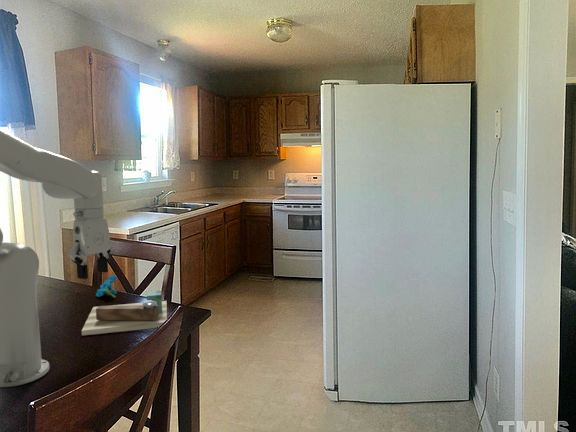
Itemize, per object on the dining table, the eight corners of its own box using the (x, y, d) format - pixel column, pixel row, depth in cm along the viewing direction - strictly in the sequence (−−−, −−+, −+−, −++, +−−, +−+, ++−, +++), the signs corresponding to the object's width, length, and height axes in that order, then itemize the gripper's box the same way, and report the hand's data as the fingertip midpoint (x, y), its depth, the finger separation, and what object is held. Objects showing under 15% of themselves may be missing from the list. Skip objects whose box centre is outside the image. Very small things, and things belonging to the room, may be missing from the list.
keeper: (162, 312, 143) (161, 294, 142) (147, 313, 142) (146, 296, 141) (162, 307, 148) (161, 290, 147) (148, 308, 146) (147, 291, 146)
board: (167, 326, 134) (167, 322, 134) (81, 335, 128) (81, 330, 128) (166, 304, 155) (166, 300, 155) (93, 311, 149) (93, 307, 149)
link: (158, 315, 139) (158, 304, 138) (155, 320, 134) (154, 308, 134) (101, 316, 138) (100, 305, 138) (95, 320, 134) (95, 309, 134)
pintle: (156, 320, 135) (156, 304, 135) (143, 322, 134) (142, 306, 134) (157, 316, 139) (156, 300, 138) (143, 317, 138) (143, 302, 137)
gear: (94, 288, 170) (113, 269, 171) (106, 297, 173) (125, 278, 174) (94, 300, 160) (113, 280, 161) (107, 309, 163) (126, 289, 164)
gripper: (76, 218, 116) (80, 283, 118) (121, 211, 132) (124, 269, 134) (54, 217, 118) (58, 281, 120) (101, 210, 134) (104, 267, 137)
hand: (93, 274), depth 127 cm, fingers open, 7 cm apart
